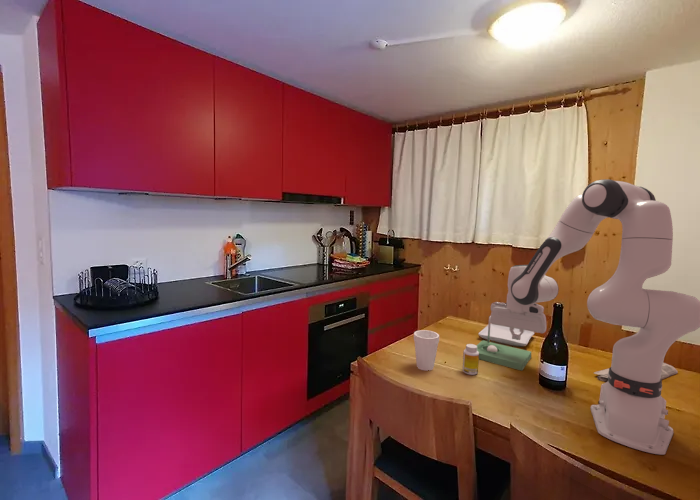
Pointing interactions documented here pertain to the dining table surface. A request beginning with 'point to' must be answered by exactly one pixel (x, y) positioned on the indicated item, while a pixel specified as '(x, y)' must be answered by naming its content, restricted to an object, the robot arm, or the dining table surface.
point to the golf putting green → (504, 355)
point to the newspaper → (666, 372)
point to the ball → (492, 348)
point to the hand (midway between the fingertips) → (516, 339)
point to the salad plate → (506, 335)
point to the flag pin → (489, 330)
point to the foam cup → (426, 348)
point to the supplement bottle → (470, 359)
